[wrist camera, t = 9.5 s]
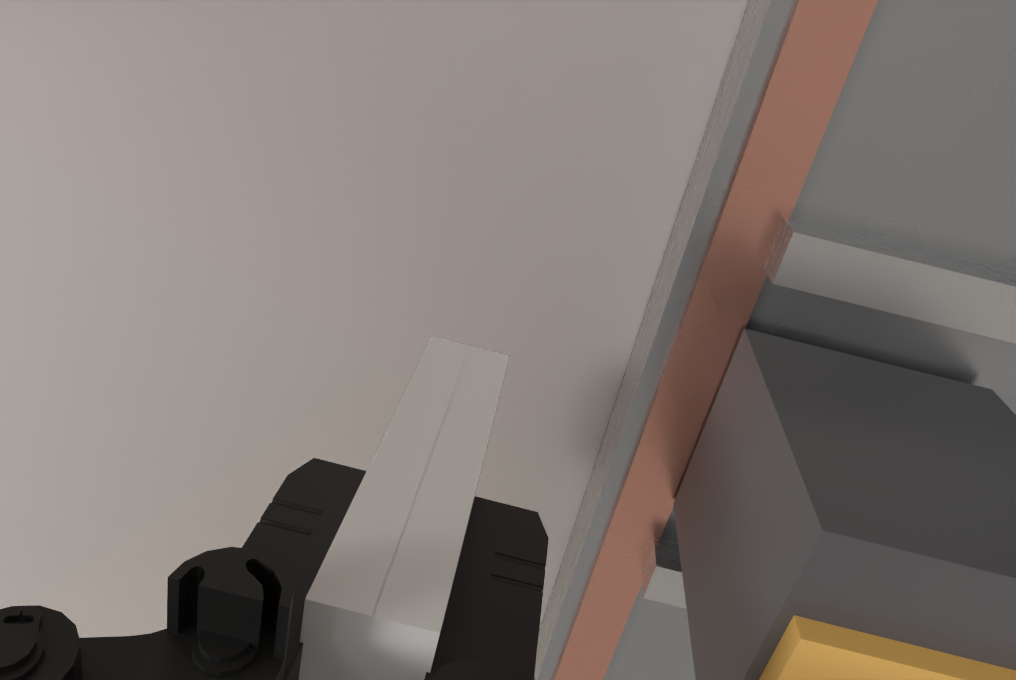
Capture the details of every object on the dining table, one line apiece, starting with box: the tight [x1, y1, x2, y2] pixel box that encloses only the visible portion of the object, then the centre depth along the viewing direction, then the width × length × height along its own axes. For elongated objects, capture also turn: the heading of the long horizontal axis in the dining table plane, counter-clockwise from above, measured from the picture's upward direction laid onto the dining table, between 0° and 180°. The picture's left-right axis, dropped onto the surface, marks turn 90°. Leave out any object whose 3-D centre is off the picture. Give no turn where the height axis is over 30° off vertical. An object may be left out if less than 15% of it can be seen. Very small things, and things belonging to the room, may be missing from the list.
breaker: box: [673, 328, 1016, 680], centre depth 13 cm, size 5×4×6 cm
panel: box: [534, 0, 1016, 680], centre depth 16 cm, size 17×26×3 cm, turn 168°
